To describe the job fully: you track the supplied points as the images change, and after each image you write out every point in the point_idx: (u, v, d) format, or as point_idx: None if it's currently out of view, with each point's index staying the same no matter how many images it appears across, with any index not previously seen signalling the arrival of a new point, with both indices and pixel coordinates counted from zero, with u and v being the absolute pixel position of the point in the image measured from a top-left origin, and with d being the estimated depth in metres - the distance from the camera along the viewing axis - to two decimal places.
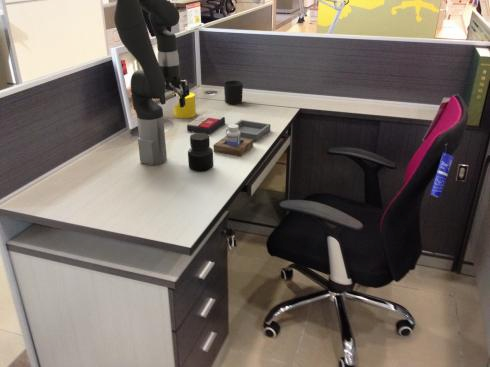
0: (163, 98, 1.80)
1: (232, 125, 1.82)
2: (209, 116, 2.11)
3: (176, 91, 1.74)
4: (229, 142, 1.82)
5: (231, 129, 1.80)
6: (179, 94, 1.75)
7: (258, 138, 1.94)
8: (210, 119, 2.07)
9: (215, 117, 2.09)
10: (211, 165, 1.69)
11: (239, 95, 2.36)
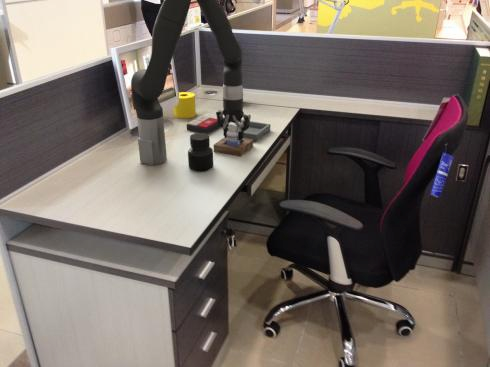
0: None
1: (232, 125, 1.82)
2: (210, 116, 2.11)
3: (237, 124, 1.79)
4: (229, 142, 1.82)
5: (231, 129, 1.80)
6: (239, 128, 1.79)
7: (258, 138, 1.94)
8: (210, 119, 2.07)
9: (216, 117, 2.09)
10: (211, 165, 1.69)
11: None
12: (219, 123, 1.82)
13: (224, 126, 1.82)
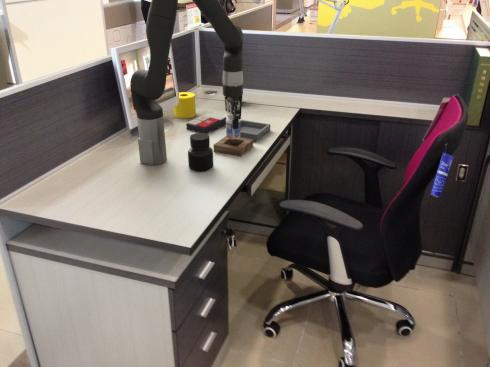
0: None
1: None
2: (211, 116, 2.11)
3: (230, 112, 1.76)
4: (226, 128, 1.81)
5: (227, 115, 1.78)
6: (232, 115, 1.76)
7: (258, 138, 1.94)
8: (210, 119, 2.07)
9: (217, 117, 2.09)
10: (211, 165, 1.69)
11: None
12: (225, 107, 1.83)
13: (227, 111, 1.81)
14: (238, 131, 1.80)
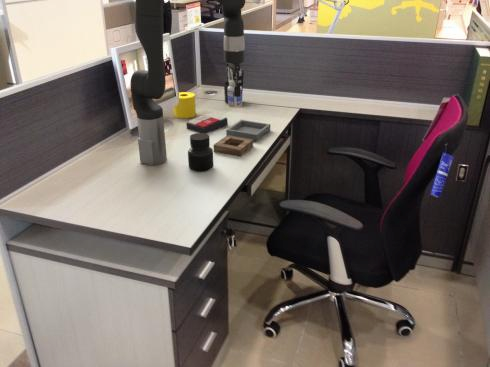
0: None
1: None
2: (212, 116, 2.11)
3: (232, 78, 1.72)
4: None
5: (229, 83, 1.75)
6: (234, 82, 1.73)
7: (258, 138, 1.94)
8: (211, 119, 2.07)
9: (217, 117, 2.09)
10: (211, 165, 1.69)
11: None
12: (227, 75, 1.79)
13: (228, 79, 1.78)
14: (240, 99, 1.77)
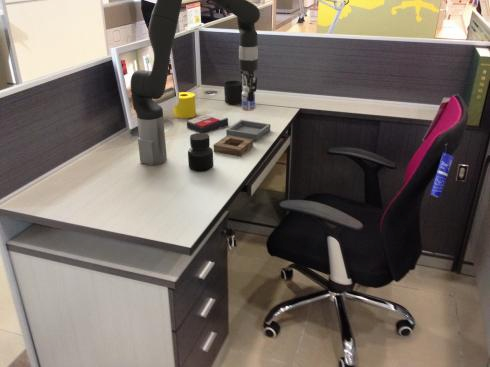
0: None
1: None
2: (213, 116, 2.11)
3: (246, 85, 1.89)
4: (242, 101, 1.94)
5: (243, 88, 1.92)
6: (248, 88, 1.89)
7: (258, 138, 1.94)
8: (211, 119, 2.07)
9: (218, 117, 2.09)
10: (211, 165, 1.69)
11: (239, 95, 2.36)
12: (241, 82, 1.96)
13: (242, 85, 1.95)
14: (253, 103, 1.94)
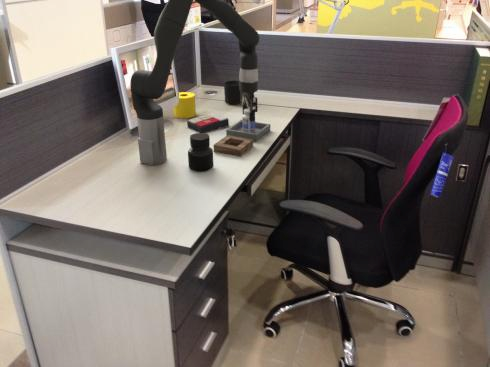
0: None
1: (248, 109, 1.97)
2: (214, 116, 2.11)
3: (247, 105, 1.92)
4: (242, 123, 1.99)
5: (244, 112, 1.96)
6: (249, 109, 1.92)
7: (258, 138, 1.94)
8: (211, 119, 2.07)
9: (218, 117, 2.09)
10: (211, 165, 1.69)
11: (239, 95, 2.36)
12: (240, 100, 2.00)
13: (242, 103, 1.99)
14: (253, 126, 1.98)
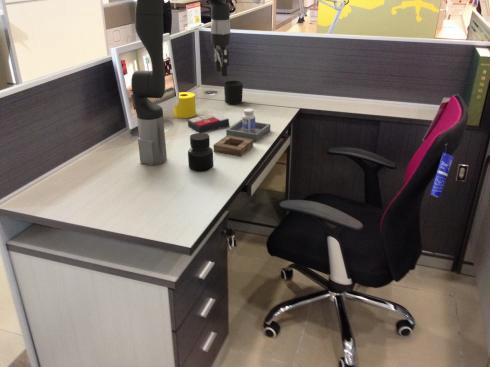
0: (218, 66, 1.92)
1: (248, 109, 1.97)
2: (216, 116, 2.11)
3: (219, 59, 1.83)
4: (242, 123, 1.99)
5: (244, 112, 1.96)
6: (220, 62, 1.83)
7: (258, 138, 1.94)
8: (212, 118, 2.08)
9: (219, 117, 2.09)
10: (211, 165, 1.69)
11: (239, 95, 2.36)
12: (214, 56, 1.92)
13: (215, 59, 1.91)
14: (253, 126, 1.98)
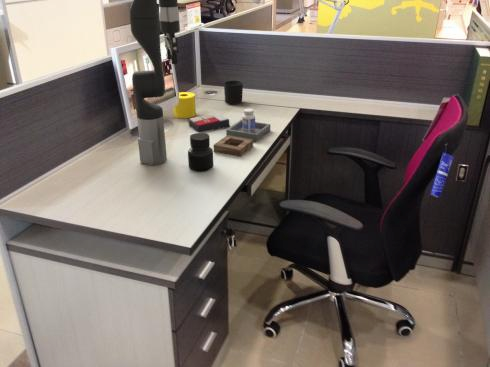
0: (169, 54, 1.91)
1: (248, 109, 1.97)
2: (217, 116, 2.11)
3: (168, 47, 1.83)
4: (242, 123, 1.99)
5: (244, 112, 1.96)
6: (170, 50, 1.83)
7: (258, 138, 1.94)
8: (212, 118, 2.08)
9: (220, 118, 2.09)
10: (211, 165, 1.69)
11: (239, 95, 2.36)
12: None
13: (166, 47, 1.90)
14: (253, 126, 1.98)
